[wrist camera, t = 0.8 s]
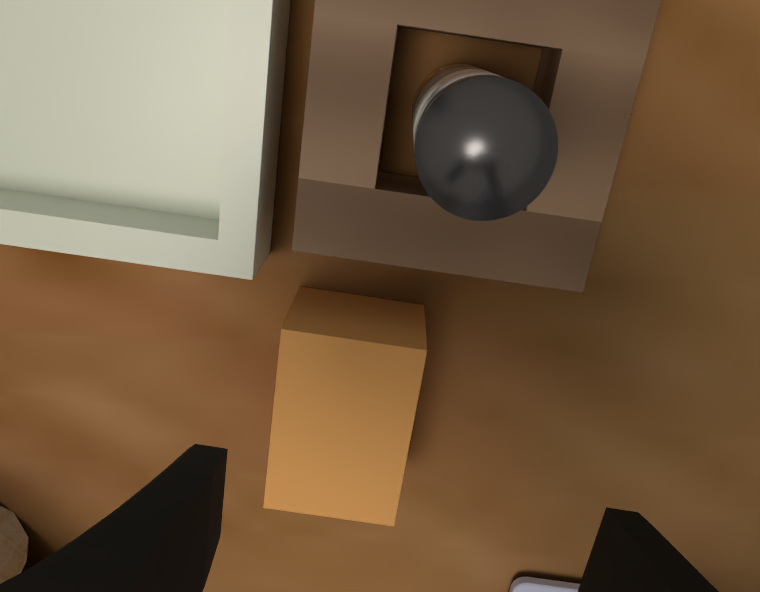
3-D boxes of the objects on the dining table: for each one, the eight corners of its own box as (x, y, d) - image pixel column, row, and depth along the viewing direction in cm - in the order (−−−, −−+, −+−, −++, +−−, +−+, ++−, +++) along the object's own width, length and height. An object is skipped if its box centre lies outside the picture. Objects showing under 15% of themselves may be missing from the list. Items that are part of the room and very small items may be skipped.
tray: (270, 252, 21) (252, 280, 18) (-51, 206, 20) (-111, 228, 18) (300, -116, 17) (282, -142, 15) (-90, -175, 17) (-171, -211, 14)
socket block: (562, 264, 20) (583, 292, 18) (304, 226, 20) (291, 250, 18) (634, -22, 17) (669, -31, 15) (334, -67, 17) (322, -83, 15)
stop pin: (493, 164, 19) (540, 230, 13) (405, 151, 19) (404, 210, 12) (511, 70, 18) (573, 87, 12) (419, 57, 18) (426, 65, 12)
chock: (395, 458, 23) (393, 526, 20) (283, 442, 23) (263, 507, 20) (423, 302, 21) (427, 350, 18) (300, 284, 21) (281, 328, 18)
